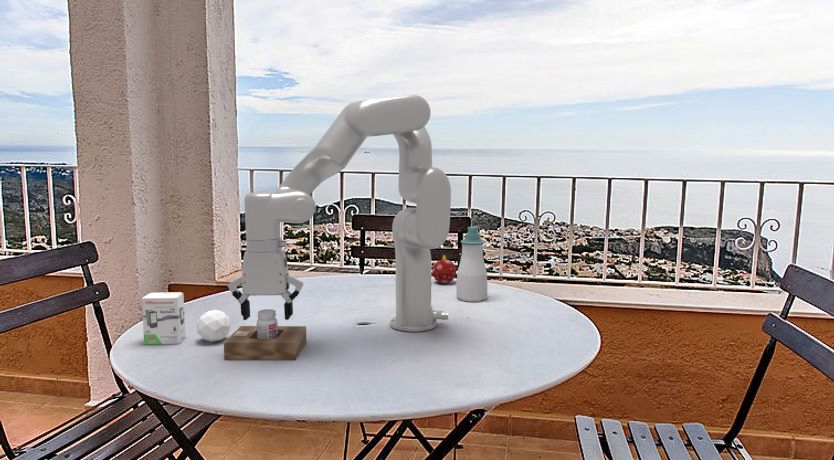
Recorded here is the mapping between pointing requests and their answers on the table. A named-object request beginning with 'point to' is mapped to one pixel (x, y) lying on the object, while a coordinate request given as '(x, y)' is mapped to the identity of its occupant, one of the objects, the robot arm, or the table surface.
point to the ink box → (163, 318)
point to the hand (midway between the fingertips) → (267, 318)
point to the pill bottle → (267, 324)
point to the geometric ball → (213, 325)
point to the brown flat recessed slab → (265, 344)
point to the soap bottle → (472, 269)
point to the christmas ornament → (444, 270)
